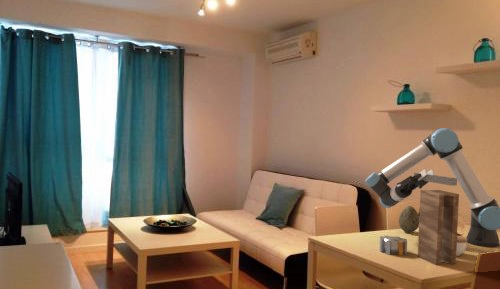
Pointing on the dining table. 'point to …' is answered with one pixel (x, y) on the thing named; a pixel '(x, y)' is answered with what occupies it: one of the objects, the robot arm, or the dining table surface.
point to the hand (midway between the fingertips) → (429, 171)
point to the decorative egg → (409, 219)
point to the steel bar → (440, 179)
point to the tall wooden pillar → (438, 226)
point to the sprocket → (393, 245)
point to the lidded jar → (461, 245)
